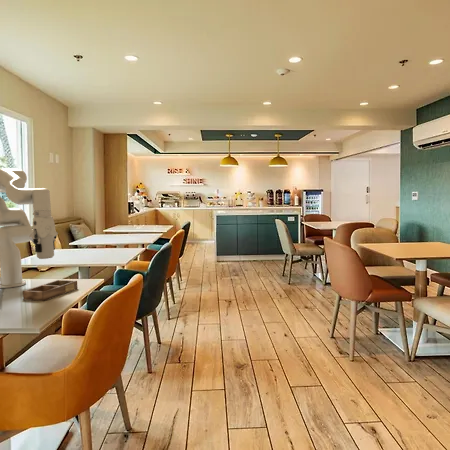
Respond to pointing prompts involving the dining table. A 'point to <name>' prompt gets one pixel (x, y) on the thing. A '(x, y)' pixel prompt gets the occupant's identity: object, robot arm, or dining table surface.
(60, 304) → the dining table surface
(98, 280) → the dining table surface
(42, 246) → the can
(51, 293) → the tray
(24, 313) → the dining table surface
